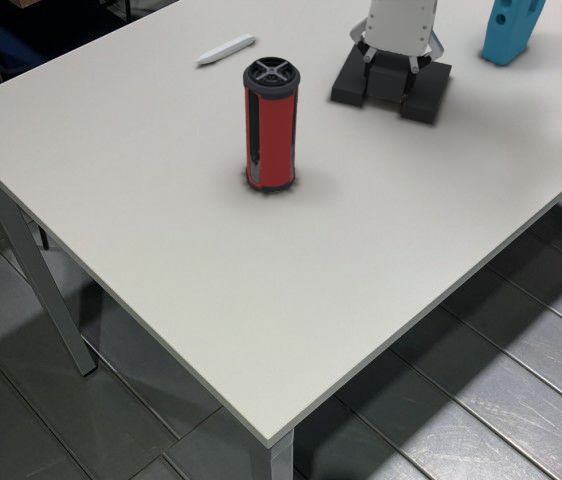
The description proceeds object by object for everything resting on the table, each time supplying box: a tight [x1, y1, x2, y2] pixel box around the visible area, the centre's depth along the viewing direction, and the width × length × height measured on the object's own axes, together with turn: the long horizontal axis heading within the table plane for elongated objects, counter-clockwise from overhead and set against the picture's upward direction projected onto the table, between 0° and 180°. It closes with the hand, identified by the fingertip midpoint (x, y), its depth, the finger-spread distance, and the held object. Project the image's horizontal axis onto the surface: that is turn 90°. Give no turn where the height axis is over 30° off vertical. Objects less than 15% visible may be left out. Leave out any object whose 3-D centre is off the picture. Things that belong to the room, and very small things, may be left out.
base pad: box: [330, 43, 453, 126], centre depth 109 cm, size 18×14×2 cm
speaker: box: [242, 56, 302, 193], centre depth 89 cm, size 8×8×18 cm
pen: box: [195, 33, 256, 65], centre depth 113 cm, size 2×14×2 cm, turn 133°
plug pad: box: [366, 51, 410, 104], centre depth 104 cm, size 6×6×4 cm
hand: (388, 84), depth 105 cm, fingers closed on plug pad, 5 cm apart
